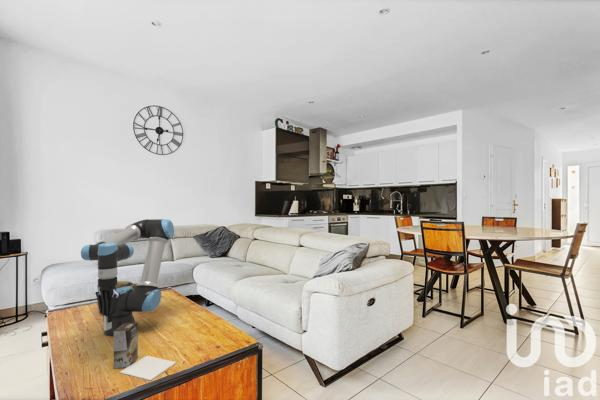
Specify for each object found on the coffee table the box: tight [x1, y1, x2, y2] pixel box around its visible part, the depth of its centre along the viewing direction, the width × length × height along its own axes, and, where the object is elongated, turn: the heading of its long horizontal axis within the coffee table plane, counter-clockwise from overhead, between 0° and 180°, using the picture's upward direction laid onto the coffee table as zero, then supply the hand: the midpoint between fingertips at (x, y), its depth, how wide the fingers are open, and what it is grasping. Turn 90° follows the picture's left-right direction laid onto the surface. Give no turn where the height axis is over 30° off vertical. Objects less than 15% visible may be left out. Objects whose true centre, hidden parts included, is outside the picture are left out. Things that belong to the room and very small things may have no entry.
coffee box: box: [113, 321, 139, 369], centre depth 133 cm, size 9×6×16 cm
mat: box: [119, 355, 177, 382], centre depth 129 cm, size 17×14×1 cm
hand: (107, 329), depth 137 cm, fingers closed
